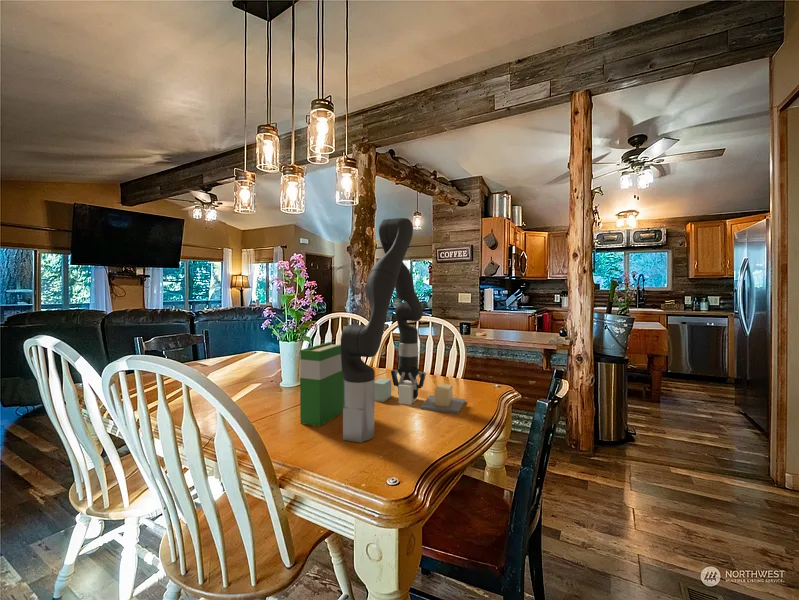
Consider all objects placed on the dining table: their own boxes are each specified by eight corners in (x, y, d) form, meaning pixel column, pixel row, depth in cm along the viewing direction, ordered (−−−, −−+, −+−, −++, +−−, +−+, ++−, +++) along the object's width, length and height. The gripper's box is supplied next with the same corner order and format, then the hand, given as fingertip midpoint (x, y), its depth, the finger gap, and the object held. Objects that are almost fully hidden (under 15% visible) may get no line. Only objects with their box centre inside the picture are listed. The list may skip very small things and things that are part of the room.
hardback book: (329, 406, 136) (329, 342, 135) (347, 409, 134) (347, 343, 132) (300, 423, 120) (300, 350, 119) (319, 426, 117) (319, 351, 116)
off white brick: (411, 405, 139) (411, 386, 138) (398, 403, 140) (398, 385, 140) (416, 398, 146) (417, 381, 146) (404, 397, 148) (405, 380, 147)
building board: (458, 413, 130) (459, 394, 129) (420, 409, 134) (420, 390, 134) (465, 401, 143) (465, 383, 143) (430, 397, 148) (430, 380, 147)
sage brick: (383, 402, 142) (384, 384, 142) (371, 400, 144) (372, 382, 143) (391, 396, 150) (391, 379, 149) (379, 394, 151) (379, 377, 151)
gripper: (387, 354, 141) (387, 398, 142) (423, 357, 136) (423, 402, 137) (394, 351, 148) (393, 393, 149) (428, 353, 144) (428, 396, 144)
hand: (408, 397), depth 143 cm, fingers closed on off white brick, 5 cm apart
